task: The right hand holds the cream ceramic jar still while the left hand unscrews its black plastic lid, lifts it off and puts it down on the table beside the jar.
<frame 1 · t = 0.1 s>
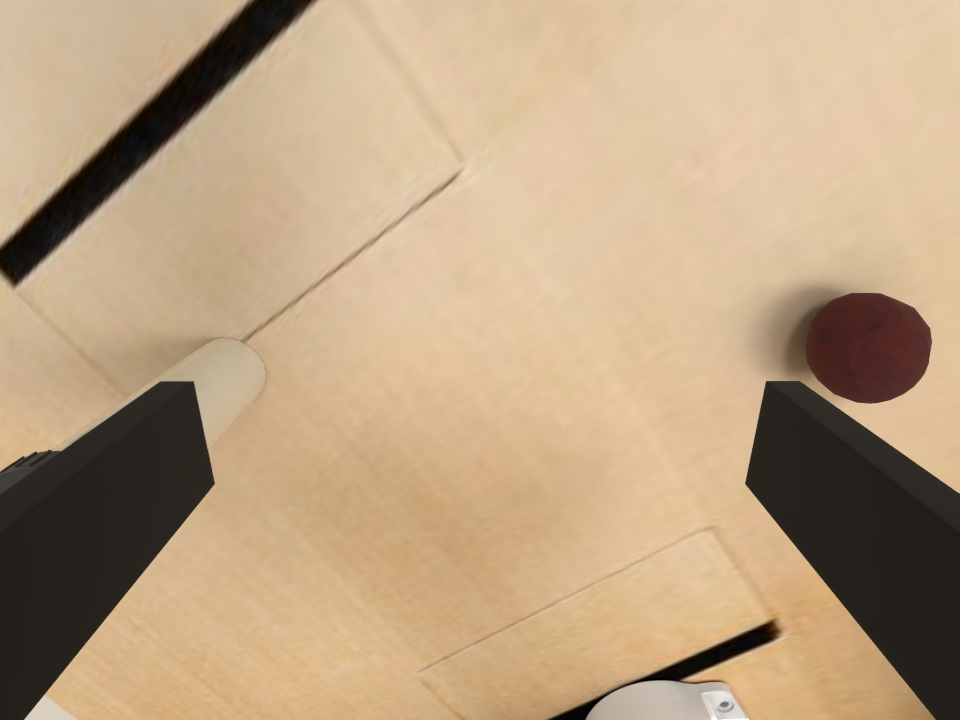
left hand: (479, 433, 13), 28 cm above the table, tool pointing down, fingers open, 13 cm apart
jar: (230, 371, 42), on the table
dark red ball: (833, 330, 41), on the table
lid: (52, 525, 25), point 19 cm above the table, screwed on, not yet turned
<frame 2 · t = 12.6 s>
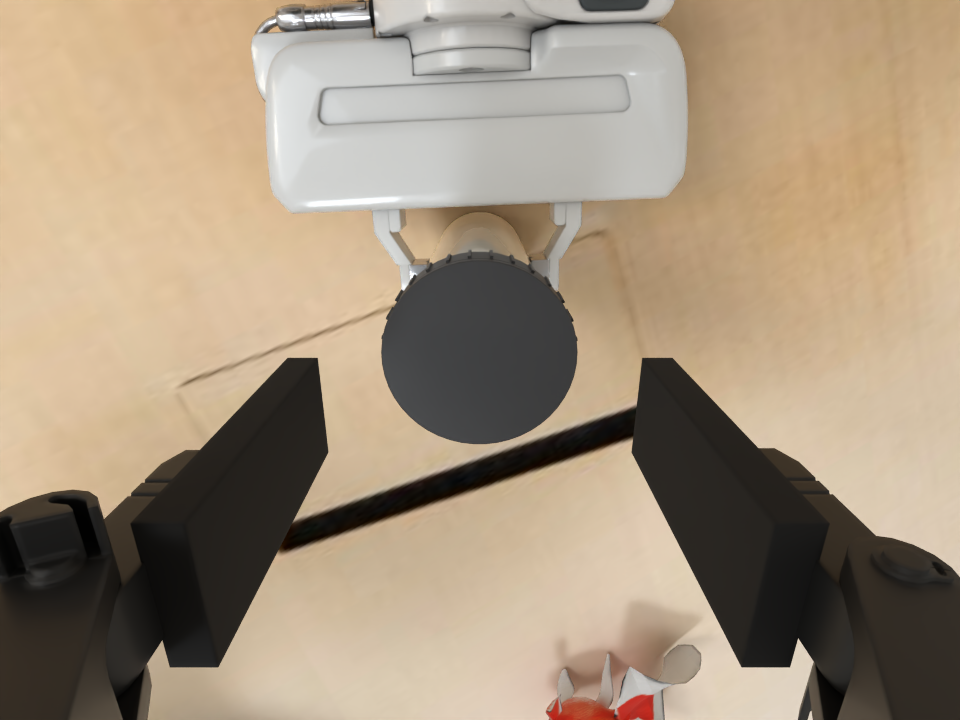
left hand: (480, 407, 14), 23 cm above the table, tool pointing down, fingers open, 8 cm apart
right hand: (481, 291, 30), fingers closed on jar, 5 cm apart
jar: (479, 255, 35), on the table, touching right hand
fish: (608, 663, 48), on the table
lid: (479, 354, 18), point 19 cm above the table, screwed on, not yet turned
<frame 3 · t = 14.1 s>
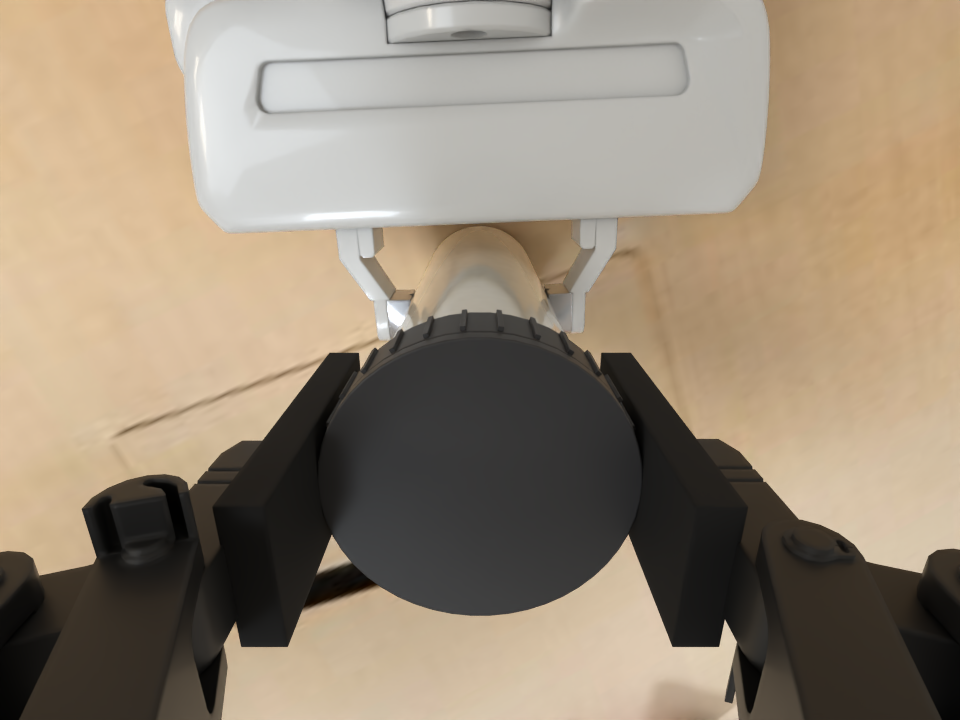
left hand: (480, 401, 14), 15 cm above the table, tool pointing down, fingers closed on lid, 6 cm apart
right hand: (482, 333, 23), fingers closed on jar, 5 cm apart
jar: (480, 279, 28), on the table, touching right hand
lid: (479, 481, 11), point 19 cm above the table, screwed on, not yet turned, touching left hand
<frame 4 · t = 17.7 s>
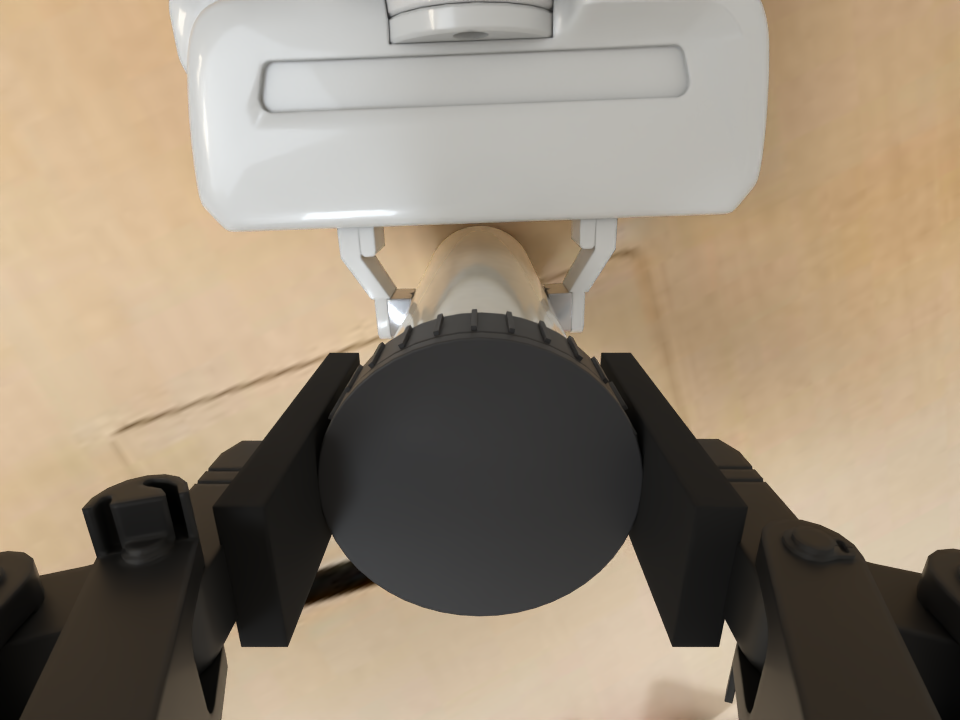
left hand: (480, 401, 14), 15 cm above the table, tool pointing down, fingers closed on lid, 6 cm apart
right hand: (482, 332, 23), fingers closed on jar, 5 cm apart
jar: (480, 279, 29), on the table, touching right hand
lid: (480, 482, 11), point 19 cm above the table, turned 109° so far, risen 0.1 cm, still on its thread, touching left hand
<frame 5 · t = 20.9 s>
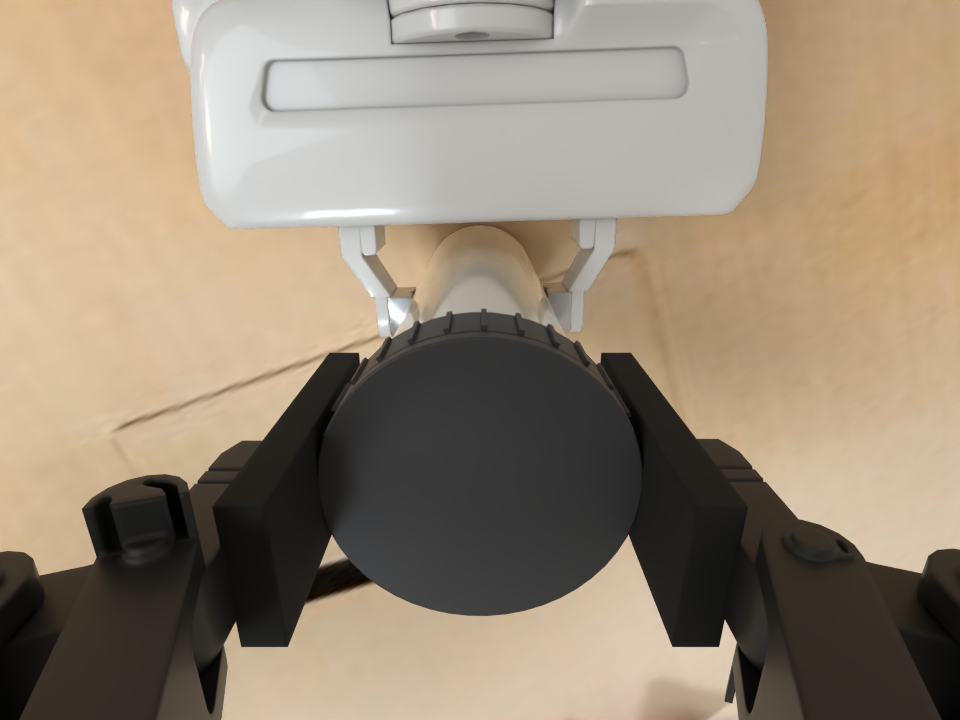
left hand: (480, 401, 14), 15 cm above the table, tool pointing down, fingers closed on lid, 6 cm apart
right hand: (481, 330, 23), fingers closed on jar, 5 cm apart
jar: (480, 278, 29), on the table, touching right hand
lid: (480, 481, 11), point 19 cm above the table, turned 217° so far, risen 0.3 cm, still on its thread, touching left hand
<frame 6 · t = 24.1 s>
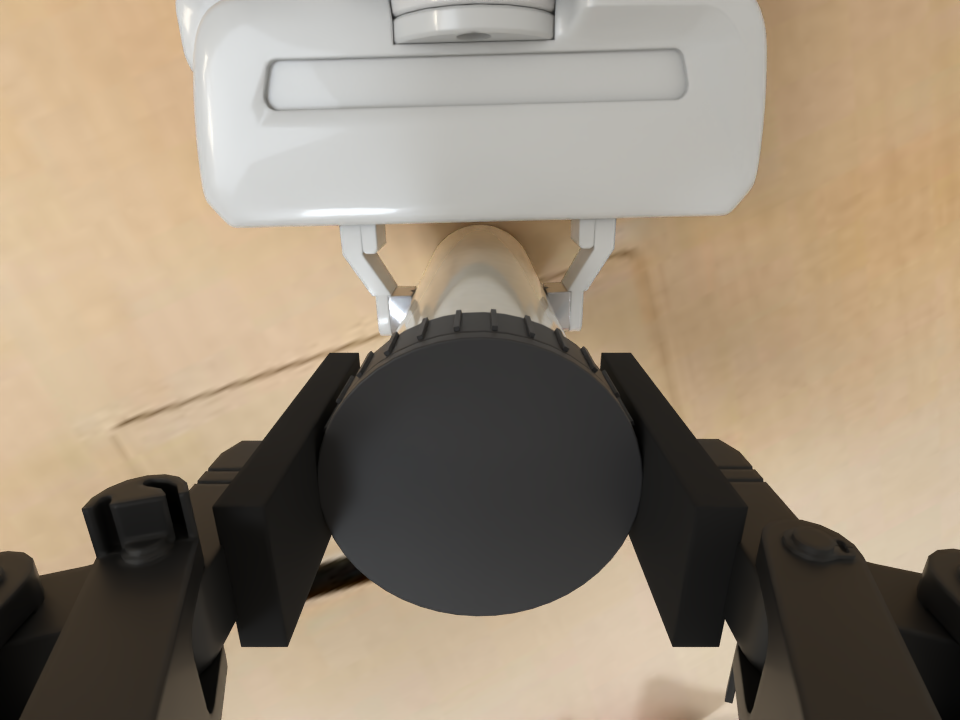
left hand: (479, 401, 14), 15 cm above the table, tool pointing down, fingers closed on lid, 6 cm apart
right hand: (481, 329, 23), fingers closed on jar, 5 cm apart
jar: (479, 277, 29), on the table, touching right hand
lid: (479, 481, 11), point 19 cm above the table, turned 326° so far, risen 0.4 cm, still on its thread, touching left hand
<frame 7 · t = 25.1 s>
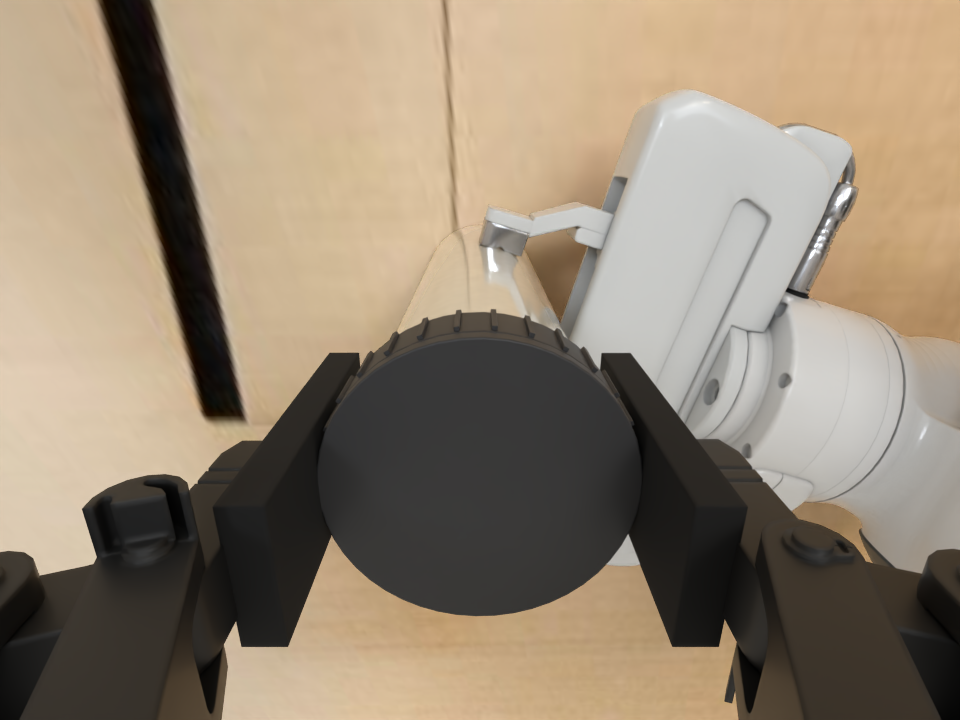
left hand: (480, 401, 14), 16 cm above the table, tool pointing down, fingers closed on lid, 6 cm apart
right hand: (459, 304, 23), fingers closed on jar, 5 cm apart
jar: (480, 277, 29), on the table, touching right hand
lid: (479, 481, 11), point 19 cm above the table, off its thread, touching left hand
when the left hand's fingers open (0 cm above the table, at t = 31.9 s): lid drops 3 cm, point 1 cm above the table.
when the right hand's fingers open (6 cm above the table, at t = 32.7 s): jar stays where it is, on the table.
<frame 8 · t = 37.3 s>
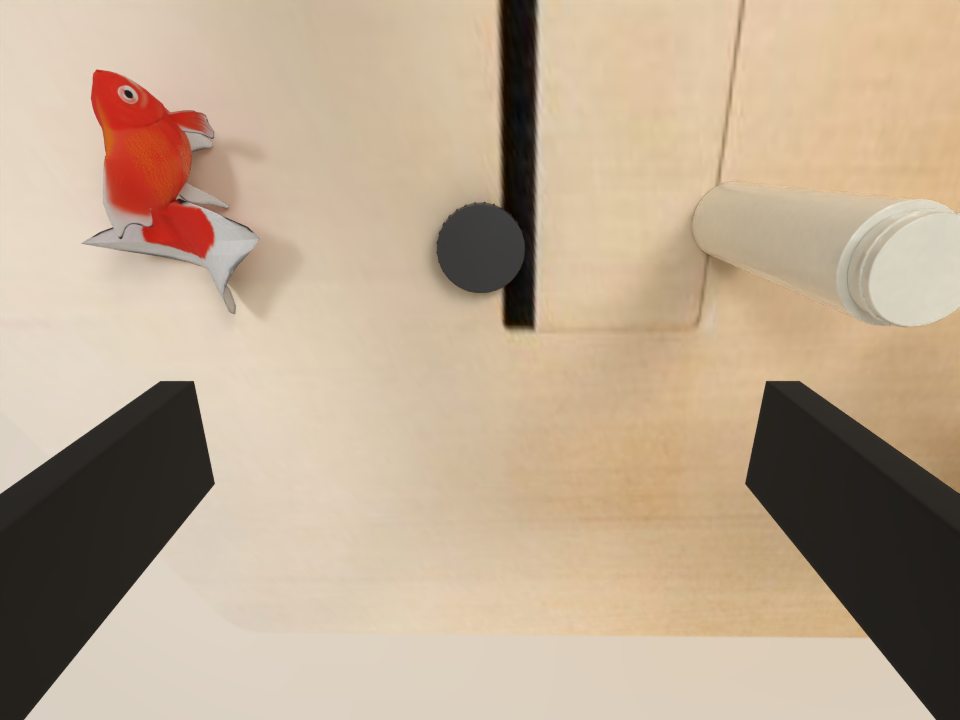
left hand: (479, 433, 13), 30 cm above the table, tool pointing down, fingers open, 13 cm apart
jar: (729, 220, 40), on the table
fish: (209, 201, 39), on the table
lid: (480, 249, 39), point 1 cm above the table, off its thread
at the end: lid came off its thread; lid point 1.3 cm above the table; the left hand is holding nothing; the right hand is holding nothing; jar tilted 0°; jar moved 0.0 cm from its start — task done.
